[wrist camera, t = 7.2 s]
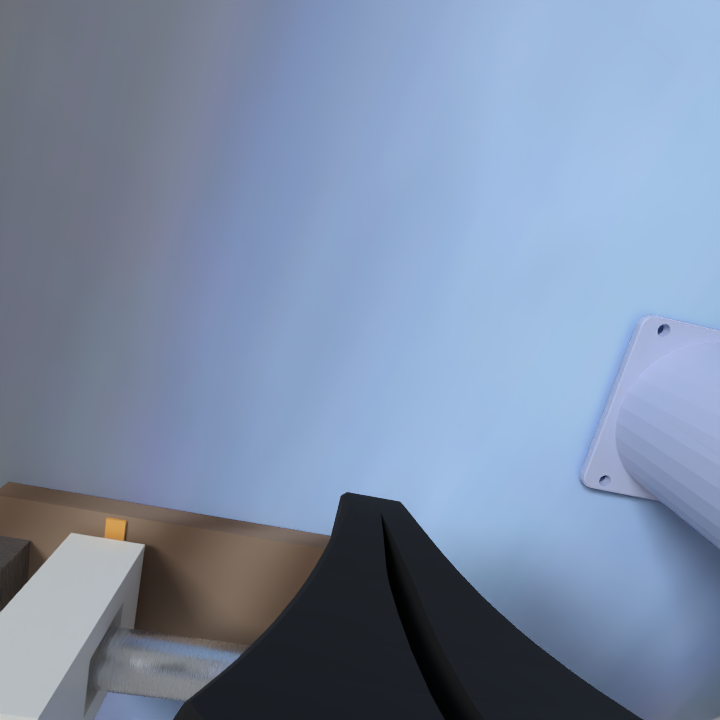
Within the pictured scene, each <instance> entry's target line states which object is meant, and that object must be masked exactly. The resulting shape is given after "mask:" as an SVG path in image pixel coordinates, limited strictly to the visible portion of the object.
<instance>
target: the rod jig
mask: <svg viewBox="0 0 720 720" xmlns="http://www.w3.org/2000/svg"><path fill="white" fill-rule="evenodd" d="M71 533H76V534H82V535H88V536H95V537H101V538H107V539H114V540H120V541H126V542H132V543H139V544H145V549H144V557H143V564H142V572H141V579H140V586H139V594H138V601H137V609H136V616H135V624H134V629H129V628H122V627H115V626H109V628H108V630H107V631H106V633H105V635H104V636H103V638H102V640H101V642H100V643H99V645H98V647H97V649H96V650H95V652H94V654H93V655H92V657H91V659H90V664H89V673H88V682H87V689H89V690H96V691H104V692H112V693H120V694H128V695H136V696H144V697H152V698H160V699H168V700H176V701H184V702H186V701H187V700H188V699H189V698H191V697H192V696H193V695H194V694H195V693H197V692H198V691H199V690H200V689H202V688H203V687H204V686H205V685H206V684H208V683H209V682H210V681H211V680H213V679H214V678H215V677H216V676H218V675H219V674H220V673H221V672H222V671H224V670H225V669H226V668H227V667H228V666H230V665H231V664H232V663H233V662H234V661H235V660H236V659H237V658H238V657H239V656H240V655H241V654H242V653H243V652H244V651H245V650H246V649H247V648H248V647H249V646H250V645H251V644H253V643H254V642H255V641H256V640H257V639H258V638H259V637H260V636H261V635H262V634H263V633H264V632H265V631H266V630H267V629H268V627H269V626H270V625H271V624H272V623H273V622H274V621H275V620H276V619H277V617H278V616H279V615H280V614H281V613H282V611H283V610H284V609H285V608H286V606H287V605H288V604H289V603H290V602H291V600H292V599H293V598H294V597H295V595H296V594H297V593H298V591H299V590H300V588H301V587H302V586H303V584H304V583H305V581H306V580H307V578H308V577H309V575H310V574H311V572H312V571H313V569H314V568H315V566H316V564H317V562H318V561H319V559H320V557H321V555H322V554H323V552H324V550H325V548H326V546H327V544H328V542H329V540H330V538H331V536H327V535H321V534H315V533H309V532H303V531H297V530H292V529H286V528H280V527H274V526H268V525H262V524H256V523H250V522H244V521H238V520H232V519H226V518H220V517H214V516H208V515H202V514H196V513H190V512H184V511H178V510H172V509H166V508H160V507H154V506H148V505H142V504H137V503H131V502H125V501H119V500H113V499H107V498H101V497H95V496H89V495H83V494H77V493H71V492H65V491H59V490H53V489H47V488H41V487H35V486H29V485H23V484H17V483H11V482H8V483H7V484H6V485H4V486H3V487H2V488H0V612H1V611H2V610H3V609H4V608H5V607H6V606H7V604H8V603H9V602H10V601H11V600H12V599H13V598H14V597H15V595H16V594H17V593H18V592H19V591H20V590H21V589H22V588H23V586H24V585H25V584H26V583H27V582H28V581H29V580H30V579H31V577H32V576H33V575H34V574H35V573H36V572H37V571H38V570H39V568H40V567H41V566H42V565H43V564H44V563H45V562H46V561H47V559H48V558H49V557H50V556H51V555H52V554H53V553H54V552H55V550H56V549H57V548H58V547H59V546H60V545H61V544H62V543H63V541H64V540H65V539H66V538H67V537H68V536H69V535H70V534H71Z"/></svg>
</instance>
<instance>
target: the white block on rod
mask: <svg viewBox="0 0 720 720" xmlns="http://www.w3.org/2000/svg"><path fill="white" fill-rule="evenodd" d="M144 549H145V544H139V543H132V542H126V541H120V540H114V539H107V538H101V537H95V536H88V535H82V534H76V533H71V534H70V535H69V536H68V537H67V538H66V539H65V540H64V541H63V543H62V544H61V545H60V546H59V547H58V548H57V549H56V550H55V552H54V553H53V554H52V555H51V556H50V557H49V558H48V559H47V561H46V562H45V563H44V564H43V565H42V566H41V567H40V568H39V570H38V571H37V572H36V573H35V574H34V575H33V576H32V577H31V579H30V580H29V581H28V582H27V583H26V584H25V585H24V586H23V588H22V589H21V590H20V591H19V592H18V593H17V594H16V595H15V597H14V598H13V599H12V600H11V601H10V602H9V603H8V604H7V606H6V607H5V608H4V609H3V610H2V611H1V612H0V720H94V718H95V716H96V714H97V712H98V710H99V708H100V706H101V704H102V702H103V700H104V698H105V696H106V694H107V692H104V691H96V690H89V689H87V682H88V673H89V664H90V659H91V657H92V655H93V654H94V652H95V650H96V649H97V647H98V645H99V643H100V642H101V640H102V638H103V636H104V635H105V633H106V631H107V630H108V628H109V626H115V627H122V628H129V629H134V624H135V616H136V609H137V601H138V594H139V586H140V579H141V572H142V564H143V557H144Z"/></svg>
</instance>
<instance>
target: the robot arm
mask: <svg viewBox="0 0 720 720" xmlns="http://www.w3.org/2000/svg"><path fill="white" fill-rule="evenodd" d="M661 325H663V326H664V329H663V331H662V333H660V334H658V328H659V327H660V326H661ZM605 475H606V478H605V479H604V480H603V481H599V480H600V478H601V477H602V476H605ZM580 479H581V481H582V482H583V483H584V484H585V485H586V486H587V487H589V488H593V489H598V490H603V491H609V492H614V493H619V494H624V495H630V496H635V497H640V498H645V499H651V500H656V501H661V502H662V503H664V504H665V505H666V506H667V507H669V508H670V509H671V510H672V511H673V512H675V513H676V514H677V515H678V516H680V517H681V518H682V519H683V520H684V521H686V522H687V523H688V524H689V525H691V526H692V527H693V528H694V529H695V530H697V531H698V532H699V533H700V534H702V535H703V536H704V537H705V538H706V539H708V540H709V541H710V542H711V543H713V544H714V545H715V546H716V547H718V548H719V549H720V331H719V330H715V329H711V328H707V327H702V326H698V325H694V324H690V323H685V322H681V321H677V320H673V319H668V318H664V317H660V316H656V315H645V316H643V317H641V318H640V319H639V320H638V322H637V324H636V326H635V329H634V332H633V334H632V337H631V340H630V342H629V345H628V348H627V350H626V353H625V356H624V358H623V361H622V364H621V366H620V369H619V372H618V374H617V377H616V380H615V382H614V385H613V388H612V390H611V393H610V396H609V398H608V401H607V403H606V406H605V409H604V411H603V414H602V417H601V419H600V422H599V425H598V427H597V430H596V433H595V435H594V438H593V441H592V443H591V446H590V449H589V451H588V454H587V457H586V459H585V462H584V465H583V467H582V470H581V473H580ZM173 720H643V719H641V718H640V717H638V716H636V715H635V714H633V713H632V712H630V711H629V710H627V709H626V708H624V707H623V706H621V705H620V704H618V703H617V702H615V701H614V700H612V699H611V698H609V697H608V696H606V695H604V694H603V693H601V692H600V691H598V690H597V689H596V688H594V687H593V686H591V685H590V684H588V683H587V682H586V681H584V680H583V679H581V678H580V677H579V676H577V675H576V674H574V673H573V672H572V671H570V670H569V669H568V668H566V667H565V666H564V665H562V664H561V663H560V662H558V661H557V660H556V659H555V658H553V657H552V656H551V655H549V654H548V653H547V652H545V651H544V650H543V649H542V648H540V647H539V646H538V645H536V644H535V643H534V642H533V641H532V640H530V639H529V638H528V637H527V636H525V635H524V634H523V633H522V632H521V631H520V630H518V629H517V628H516V627H515V626H514V625H513V624H512V623H511V622H509V621H508V620H507V619H506V618H505V617H504V616H503V615H502V614H501V613H499V612H498V611H497V610H496V609H495V608H494V607H493V606H492V605H491V604H490V603H489V602H488V601H487V600H486V599H484V598H483V597H482V596H481V595H480V594H479V593H478V592H477V590H476V589H475V588H474V587H473V586H472V585H471V584H470V583H469V582H468V581H467V580H466V579H465V578H464V577H463V576H462V575H461V574H460V573H459V572H458V570H457V569H456V568H455V567H454V566H453V565H452V564H451V563H450V561H449V560H448V559H447V558H446V557H445V556H444V555H443V553H442V552H441V551H440V550H439V549H438V547H437V546H436V545H435V544H434V543H433V541H432V540H431V539H430V538H429V537H428V535H427V534H426V533H425V532H424V530H423V529H422V528H421V527H420V525H419V524H418V523H417V522H416V520H415V519H414V518H413V517H412V515H411V514H410V513H409V512H408V510H407V509H406V508H405V507H404V506H403V504H402V503H401V502H399V501H393V500H388V499H382V498H377V497H371V496H365V495H360V494H354V493H349V492H347V493H345V494H343V495H342V496H341V498H340V502H339V506H338V510H337V514H336V518H335V522H334V526H333V530H332V535H331V538H330V540H329V542H328V544H327V546H326V548H325V550H324V552H323V554H322V555H321V557H320V559H319V561H318V562H317V564H316V566H315V568H314V569H313V571H312V572H311V574H310V575H309V577H308V578H307V580H306V581H305V583H304V584H303V586H302V587H301V588H300V590H299V591H298V593H297V594H296V595H295V597H294V598H293V599H292V600H291V602H290V603H289V604H288V605H287V606H286V608H285V609H284V610H283V611H282V613H281V614H280V615H279V616H278V617H277V619H276V620H275V621H274V622H273V623H272V624H271V625H270V626H269V627H268V629H267V630H266V631H265V632H264V633H263V634H262V635H261V636H260V637H259V638H258V639H257V640H256V641H255V642H254V643H253V644H251V645H250V646H249V647H248V648H247V649H246V650H245V651H244V652H243V653H242V654H241V655H240V656H239V657H238V658H237V659H236V660H235V661H234V662H233V663H232V664H231V665H230V666H228V667H227V668H226V669H225V670H224V671H222V672H221V673H220V674H219V675H218V676H216V677H215V678H214V679H213V680H211V681H210V682H209V683H208V684H206V685H205V686H204V687H203V688H202V689H200V690H199V691H198V692H197V693H195V694H194V695H193V696H192V697H191V698H189V699H188V700H187V701H186V702H185V703H184V704H183V706H182V707H181V709H180V710H179V712H178V713H177V715H176V716H175V718H174V719H173Z"/></svg>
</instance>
